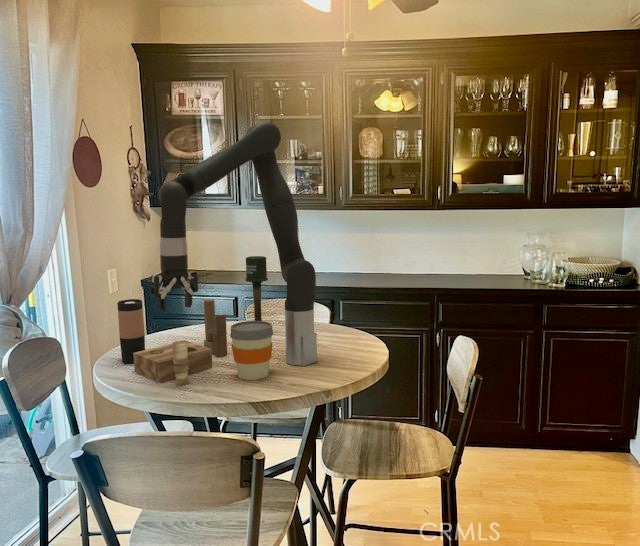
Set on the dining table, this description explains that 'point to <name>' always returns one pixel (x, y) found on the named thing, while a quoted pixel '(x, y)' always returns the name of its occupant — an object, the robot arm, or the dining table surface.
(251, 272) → the potato masher grenade
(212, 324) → the wooden block
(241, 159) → the robot arm
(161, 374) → the seat block
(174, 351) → the peg
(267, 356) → the reusable coffee cup
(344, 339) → the dining table surface
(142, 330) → the travel mug
